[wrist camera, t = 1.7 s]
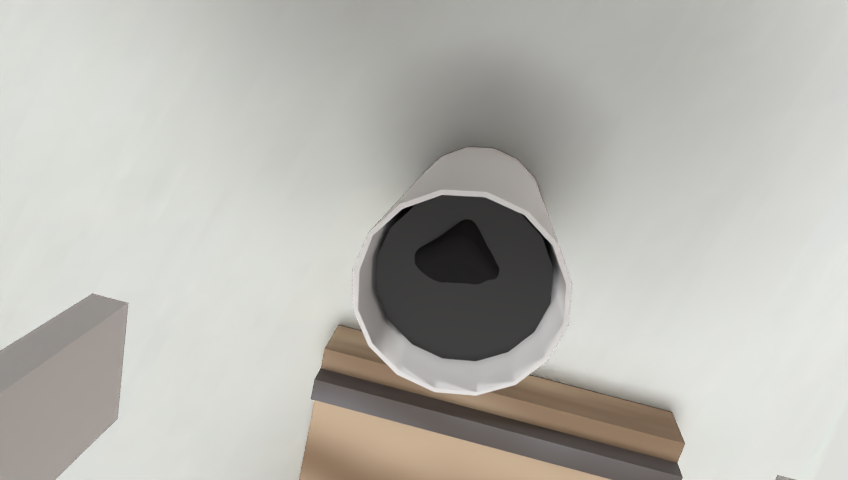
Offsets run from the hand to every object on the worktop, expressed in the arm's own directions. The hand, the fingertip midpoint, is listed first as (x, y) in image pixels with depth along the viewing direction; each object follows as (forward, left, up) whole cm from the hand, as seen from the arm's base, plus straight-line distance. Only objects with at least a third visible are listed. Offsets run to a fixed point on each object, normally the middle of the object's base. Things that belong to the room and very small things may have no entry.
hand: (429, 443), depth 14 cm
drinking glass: (0, 0, -18) cm, 18 cm away
